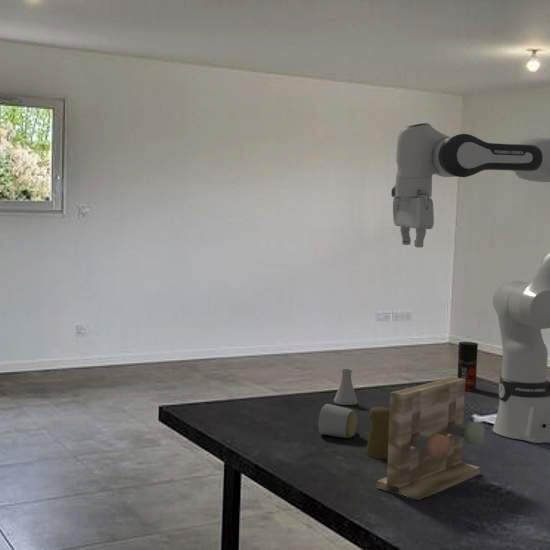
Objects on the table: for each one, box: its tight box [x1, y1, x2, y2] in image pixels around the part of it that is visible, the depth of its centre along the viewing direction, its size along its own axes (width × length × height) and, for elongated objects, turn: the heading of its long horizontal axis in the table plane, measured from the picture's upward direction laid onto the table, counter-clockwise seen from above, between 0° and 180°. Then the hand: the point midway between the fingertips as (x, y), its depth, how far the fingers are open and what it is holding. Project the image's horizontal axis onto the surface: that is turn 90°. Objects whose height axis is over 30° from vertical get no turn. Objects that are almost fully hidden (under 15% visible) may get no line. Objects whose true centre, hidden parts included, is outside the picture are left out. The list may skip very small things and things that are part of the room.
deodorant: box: [456, 341, 479, 392], centre depth 259 cm, size 6×6×15 cm
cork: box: [365, 406, 390, 459], centre depth 184 cm, size 6×6×11 cm
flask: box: [333, 368, 359, 406], centre depth 235 cm, size 7×7×10 cm
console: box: [376, 376, 481, 501], centre depth 166 cm, size 10×24×20 cm, turn 137°
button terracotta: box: [411, 433, 450, 459], centre depth 159 cm, size 7×5×5 cm, turn 47°
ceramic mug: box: [318, 403, 359, 439], centre depth 201 cm, size 11×8×8 cm
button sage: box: [448, 421, 486, 447], centre depth 169 cm, size 7×5×5 cm, turn 47°
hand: (412, 246), depth 199 cm, fingers open, 8 cm apart
